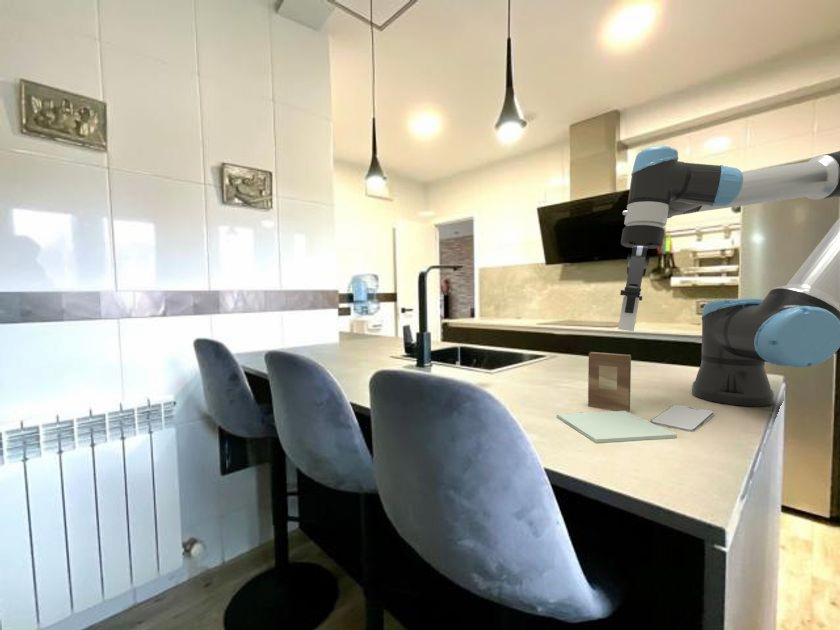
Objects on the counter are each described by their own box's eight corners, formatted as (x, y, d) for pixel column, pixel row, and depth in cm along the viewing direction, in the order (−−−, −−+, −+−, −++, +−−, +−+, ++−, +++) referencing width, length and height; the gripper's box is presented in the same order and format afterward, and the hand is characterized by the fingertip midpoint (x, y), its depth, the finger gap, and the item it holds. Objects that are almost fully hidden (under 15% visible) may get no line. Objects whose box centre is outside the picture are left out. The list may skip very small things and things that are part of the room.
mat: (624, 413, 82) (624, 410, 82) (676, 437, 68) (676, 434, 68) (556, 417, 80) (556, 414, 80) (595, 442, 66) (595, 439, 66)
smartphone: (648, 421, 76) (674, 403, 85) (648, 426, 76) (674, 409, 85) (693, 430, 70) (715, 411, 80) (693, 437, 70) (715, 416, 80)
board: (590, 404, 89) (591, 351, 88) (630, 410, 84) (631, 354, 83) (588, 406, 87) (588, 353, 86) (628, 412, 82) (629, 356, 81)
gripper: (624, 237, 93) (609, 325, 94) (621, 212, 71) (602, 327, 72) (661, 238, 89) (645, 330, 91) (670, 213, 67) (649, 334, 69)
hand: (626, 329), depth 81 cm, fingers open, 13 cm apart
